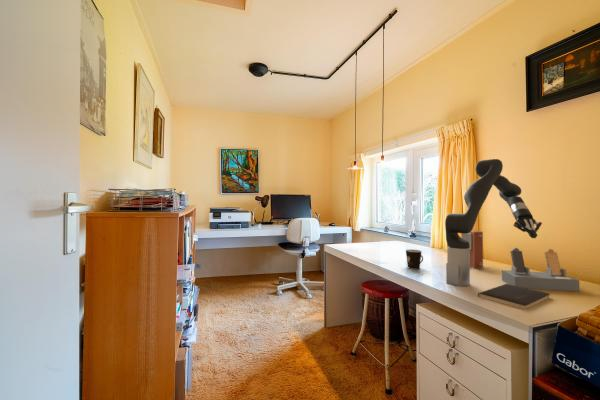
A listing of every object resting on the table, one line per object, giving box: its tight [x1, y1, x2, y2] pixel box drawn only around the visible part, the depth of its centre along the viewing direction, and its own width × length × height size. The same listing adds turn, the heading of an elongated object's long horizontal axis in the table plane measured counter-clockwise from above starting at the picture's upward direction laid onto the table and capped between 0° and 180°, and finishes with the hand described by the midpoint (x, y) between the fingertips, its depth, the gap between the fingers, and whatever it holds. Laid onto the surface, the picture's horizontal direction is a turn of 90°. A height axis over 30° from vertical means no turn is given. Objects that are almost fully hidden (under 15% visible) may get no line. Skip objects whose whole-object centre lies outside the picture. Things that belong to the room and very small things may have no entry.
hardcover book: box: [477, 283, 551, 310], centre depth 111 cm, size 16×23×2 cm
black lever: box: [509, 247, 526, 273], centre depth 130 cm, size 4×3×12 cm, turn 76°
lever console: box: [501, 265, 580, 292], centre depth 126 cm, size 24×12×8 cm, turn 77°
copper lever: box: [544, 248, 562, 275], centre depth 126 cm, size 4×3×12 cm, turn 77°
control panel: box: [460, 229, 484, 269], centre depth 164 cm, size 21×7×15 cm
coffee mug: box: [405, 249, 424, 270], centre depth 159 cm, size 12×9×10 cm
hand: (534, 237), depth 139 cm, fingers closed
